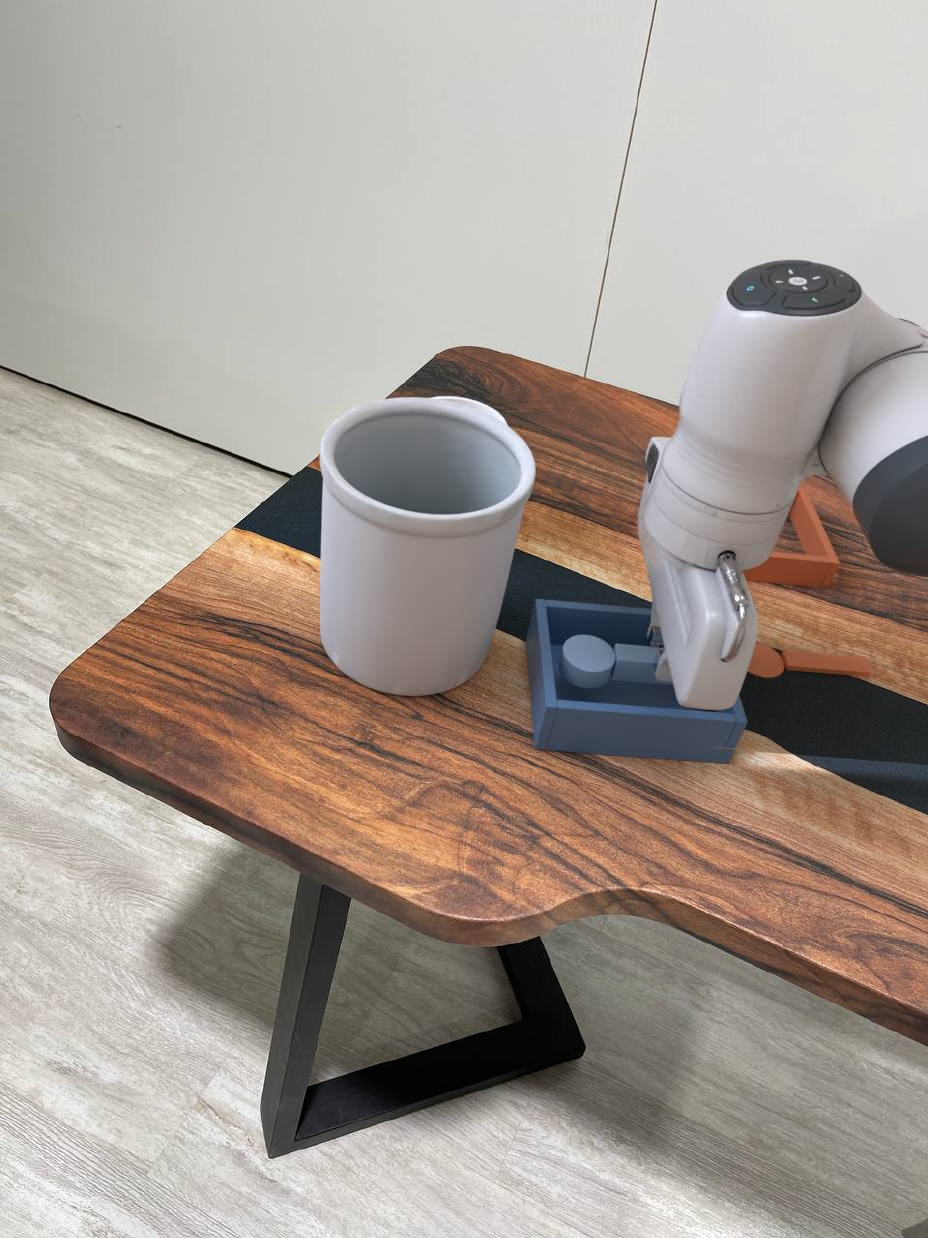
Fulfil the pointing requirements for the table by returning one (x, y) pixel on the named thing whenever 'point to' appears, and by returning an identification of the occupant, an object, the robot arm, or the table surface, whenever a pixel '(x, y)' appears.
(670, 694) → the bin blue
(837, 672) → the spoon terracotta
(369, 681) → the utensil holder
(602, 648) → the spoon blue
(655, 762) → the table surface
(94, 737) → the table surface
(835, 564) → the bin terracotta
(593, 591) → the table surface
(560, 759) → the table surface
